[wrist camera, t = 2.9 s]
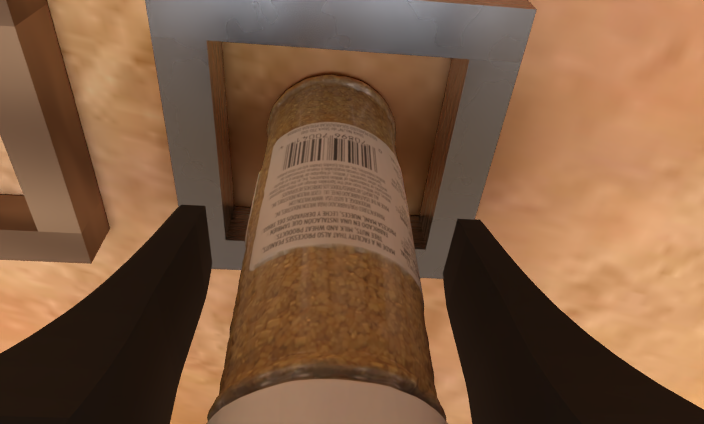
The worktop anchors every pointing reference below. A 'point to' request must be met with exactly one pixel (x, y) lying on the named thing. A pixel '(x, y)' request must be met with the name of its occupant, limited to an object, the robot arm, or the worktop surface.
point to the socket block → (352, 35)
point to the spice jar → (329, 273)
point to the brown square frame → (43, 146)
